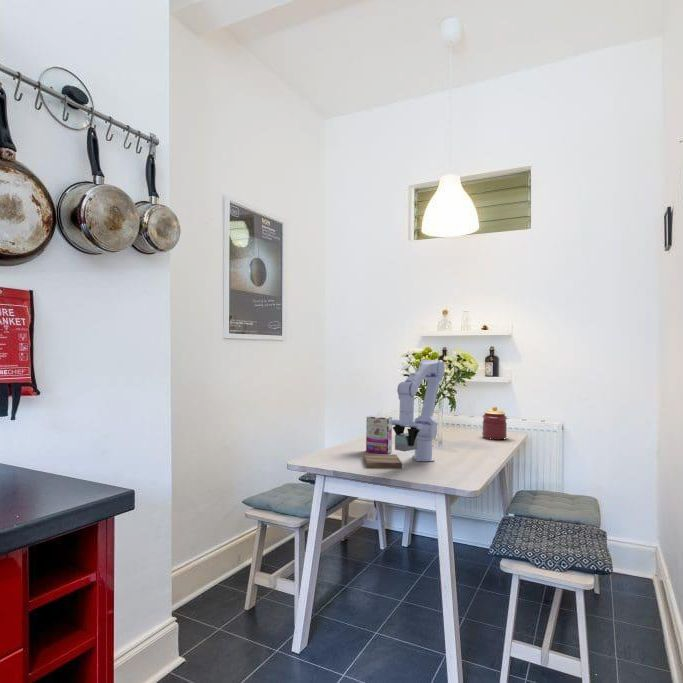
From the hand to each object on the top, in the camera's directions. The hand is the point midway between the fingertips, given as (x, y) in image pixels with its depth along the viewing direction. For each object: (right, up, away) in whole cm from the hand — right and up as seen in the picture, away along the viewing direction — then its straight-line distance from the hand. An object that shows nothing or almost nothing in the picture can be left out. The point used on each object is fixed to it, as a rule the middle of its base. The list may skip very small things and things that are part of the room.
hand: (405, 444), depth 198 cm
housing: (0, -2, 0) cm, 2 cm away
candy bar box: (-9, -9, +27) cm, 30 cm away
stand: (-9, -9, +5) cm, 14 cm away
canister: (+58, -12, +71) cm, 93 cm away
